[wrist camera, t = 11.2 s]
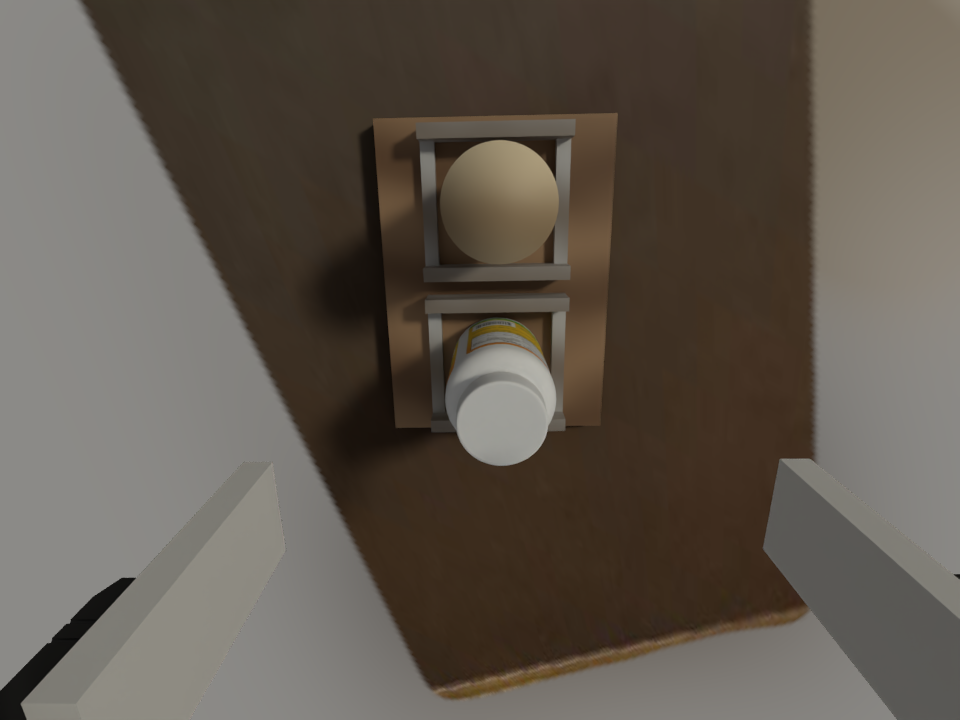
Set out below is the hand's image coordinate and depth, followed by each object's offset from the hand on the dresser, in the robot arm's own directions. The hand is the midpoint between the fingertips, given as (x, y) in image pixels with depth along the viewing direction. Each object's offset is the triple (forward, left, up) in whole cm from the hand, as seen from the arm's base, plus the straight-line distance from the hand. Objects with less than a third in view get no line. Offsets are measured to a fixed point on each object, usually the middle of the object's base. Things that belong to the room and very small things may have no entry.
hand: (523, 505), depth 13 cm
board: (-3, 0, -19) cm, 19 cm away
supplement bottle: (+1, 0, -18) cm, 18 cm away
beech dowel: (-8, 0, -18) cm, 19 cm away
